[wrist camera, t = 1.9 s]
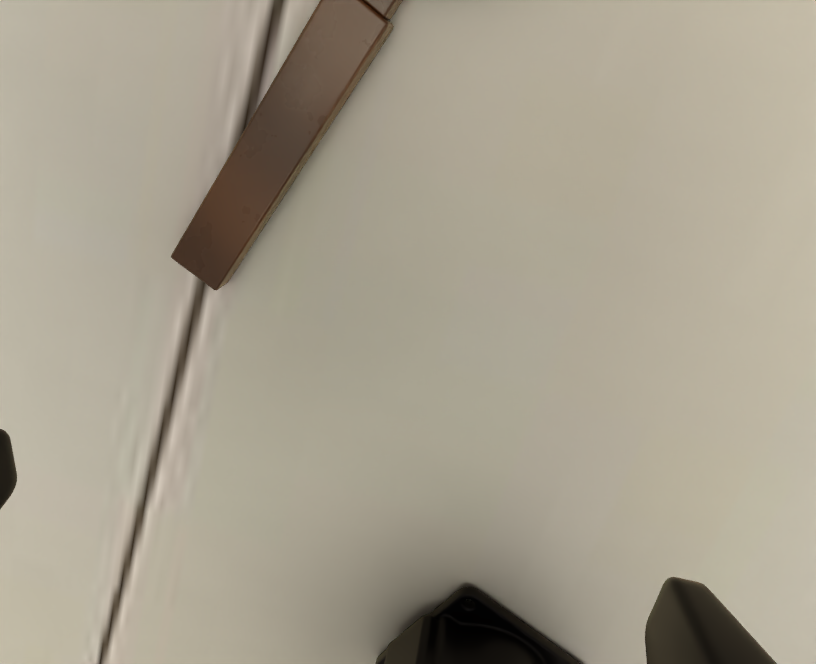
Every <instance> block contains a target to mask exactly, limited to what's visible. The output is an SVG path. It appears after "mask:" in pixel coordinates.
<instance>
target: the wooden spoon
mask: <svg viewBox="0 0 816 664" xmlns="http://www.w3.org/2000/svg"><path fill="white" fill-rule="evenodd" d="M402 1H403V0H320V2H319V4H318V6H317V7H316V9H315V11H314V12H313V14H312V16H311V18H310V19H309V21H308V23H307V24H306V26H305V28H304V29H303V31H302V33H301V35H300V36H299V38H298V40H297V41H296V43H295V45H294V47H293V48H292V50H291V52H290V53H289V55H288V57H287V59H286V60H285V62H284V64H283V65H282V67H281V69H280V71H279V72H278V74H277V76H276V77H275V79H274V81H273V82H272V84H271V86H270V88H269V89H268V91H267V93H266V94H265V96H264V98H263V100H262V101H261V103H260V105H259V106H258V108H257V110H256V112H255V113H254V115H253V117H252V118H251V120H250V122H249V124H248V125H247V127H246V129H245V130H244V132H243V134H242V136H241V137H240V139H239V141H238V142H237V144H236V146H235V147H234V149H233V151H232V153H231V154H230V156H229V158H228V159H227V161H226V163H225V165H224V166H223V168H222V170H221V171H220V173H219V175H218V177H217V178H216V180H215V182H214V183H213V185H212V187H211V189H210V190H209V192H208V194H207V195H206V197H205V199H204V200H203V202H202V204H201V206H200V207H199V209H198V211H197V212H196V214H195V216H194V218H193V219H192V221H191V223H190V224H189V226H188V228H187V230H186V231H185V233H184V235H183V236H182V238H181V240H180V242H179V243H178V245H177V247H176V248H175V250H174V252H173V253H172V256H171V257H172V259H174V260H175V261H176V262H178V263H179V264H180V265H182V266H183V267H184V268H186V269H187V270H188V271H190V272H191V273H192V274H194V275H195V276H196V277H198V278H199V279H200V280H202V281H203V282H204V283H206V284H207V285H208V286H210V287H211V288H212V289H214V290H218V289H219V288H221V287H222V286H224V285H225V284H226V283H228V281H229V280H230V278H231V277H232V275H233V274H234V272H235V271H236V269H237V268H238V266H239V265H240V263H241V261H242V260H243V258H244V257H245V255H246V254H247V252H248V251H249V249H250V248H251V246H252V245H253V243H254V242H255V240H256V238H257V237H258V235H259V234H260V232H261V231H262V229H263V228H264V226H265V225H266V223H267V222H268V220H269V219H270V217H271V215H272V214H273V212H274V211H275V209H276V208H277V206H278V205H279V203H280V202H281V200H282V199H283V197H284V196H285V194H286V192H287V191H288V189H289V188H290V186H291V185H292V183H293V182H294V180H295V179H296V177H297V176H298V174H299V172H300V171H301V169H302V168H303V166H304V165H305V163H306V162H307V160H308V159H309V157H310V156H311V154H312V153H313V151H314V149H315V148H316V146H317V145H318V143H319V142H320V140H321V139H322V137H323V136H324V134H325V133H326V131H327V130H328V128H329V126H330V125H331V123H332V122H333V120H334V119H335V117H336V116H337V114H338V113H339V111H340V110H341V108H342V106H343V105H344V103H345V102H346V100H347V99H348V97H349V96H350V94H351V93H352V91H353V90H354V88H355V87H356V85H357V83H358V82H359V80H360V79H361V77H362V76H363V74H364V73H365V71H366V70H367V68H368V67H369V65H370V64H371V62H372V60H373V59H374V57H375V56H376V54H377V53H378V51H379V50H380V48H381V47H382V45H383V44H384V42H385V41H386V39H387V37H388V36H389V34H390V33H391V31H392V30H393V27H394V26H393V24H392V23H391V22H390V21H388V20H390V19H391V18H392V16H393V14H394V13H395V11H396V10H397V8H398V7H399V5H400V4H401V2H402ZM387 19H388V20H387Z"/></svg>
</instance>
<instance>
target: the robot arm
mask: <svg viewBox="0 0 816 664" xmlns="http://www.w3.org/2000/svg"><path fill="white" fill-rule="evenodd" d="M16 482H17V472H16V467H15V462H14V456H13V451H12V446H11V440H10V437H9V435H8V434H7V433H6V431H4V430H2V429H0V509H1V508H2V506H3V505H4V504H5V502H6V501H7V500H8V498H9V497H10V496H11V494H12V492H13V490H14V488H15V485H16ZM466 599H469V600H472V601H467V600H466ZM645 644H646V657H647V664H777V663H776V662H775V661H774V660H773V659H772V658H771V657H770V656H769V655H768V653H767V652H766V651H765V650H764V649H763V648H762V647H761V646H760V645H759V644H758V643H757V641H756V640H755V639H754V638H753V637H752V636H751V635H750V634H749V633H748V632H747V630H746V629H745V628H744V627H743V626H742V625H741V624H740V623H739V622H738V621H737V619H736V618H735V617H734V616H733V615H732V614H731V613H730V612H729V611H728V610H727V608H726V607H725V606H724V605H723V604H722V603H721V602H720V601H719V600H718V599H717V597H716V596H715V595H714V594H713V593H712V592H711V591H710V590H709V589H708V588H707V587H706V586H705V585H703V584H701V583H699V582H695V581H690V580H686V579H681V578H677V577H671V578H668V579H667V580H666V581H665V583H664V584H663V586H662V589H661V591H660V593H659V595H658V598H657V600H656V602H655V604H654V607H653V609H652V611H651V613H650V616H649V618H648V621H647V624H646V630H645ZM376 664H580V663H579V662H578V661H576V660H575V659H573V658H572V657H571V656H569V655H568V654H567V653H565V652H564V651H562V650H561V649H560V648H558V647H557V646H555V645H554V644H553V643H551V642H550V641H548V640H547V639H546V638H544V637H543V636H542V635H540V634H539V633H537V632H536V631H535V630H533V629H532V628H530V627H529V626H528V625H526V624H525V623H523V622H522V621H521V620H519V619H518V618H516V617H515V616H514V615H512V614H511V613H510V612H508V611H507V610H505V609H504V608H503V607H501V606H500V605H498V604H497V603H496V602H494V601H493V600H491V599H490V598H489V597H487V596H486V595H485V594H483V593H482V592H480V591H479V590H477V589H476V588H474V587H463V588H461V589H459V590H458V591H457V592H456V593H454V594H453V595H452V596H451V597H450V598H448V599H447V600H446V601H445V602H443V603H442V604H441V605H440V606H439V607H437V608H436V609H435V610H434V611H433V612H431V613H430V614H427V615H424V616H422V617H421V618H420V619H419V620H417V621H416V622H415V623H414V624H413V625H411V626H410V627H409V628H408V629H407V630H405V631H404V632H403V633H402V634H401V635H399V636H398V637H397V638H396V639H395V640H393V641H392V642H391V643H390V644H389V645H388V649H387V650H385V651H384V652H383V653H382V654H381V655H379V656H378V658H377V660H376Z"/></svg>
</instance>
